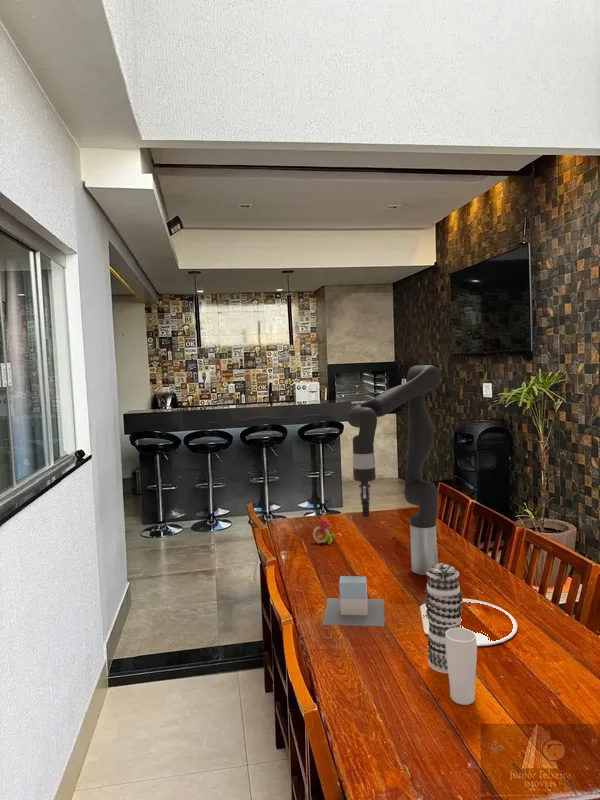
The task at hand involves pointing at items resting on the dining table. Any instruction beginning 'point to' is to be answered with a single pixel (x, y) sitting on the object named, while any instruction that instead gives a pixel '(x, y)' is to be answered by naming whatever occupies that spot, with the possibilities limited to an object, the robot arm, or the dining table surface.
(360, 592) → the pale blue brick
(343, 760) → the dining table surface
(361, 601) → the cream base brick
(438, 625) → the decorative candle
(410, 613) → the dining table surface
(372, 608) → the charcoal baseplate
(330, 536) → the bird rattle
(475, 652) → the drinking glass
